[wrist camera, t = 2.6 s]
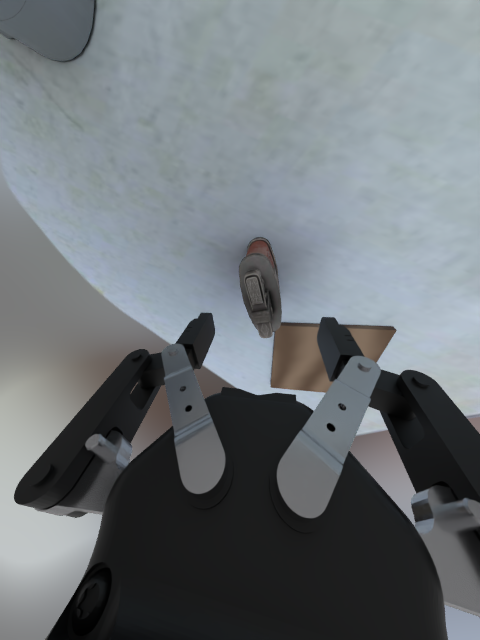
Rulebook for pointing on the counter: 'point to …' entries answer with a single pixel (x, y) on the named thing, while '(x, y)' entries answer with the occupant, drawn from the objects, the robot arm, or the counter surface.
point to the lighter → (261, 287)
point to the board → (316, 354)
